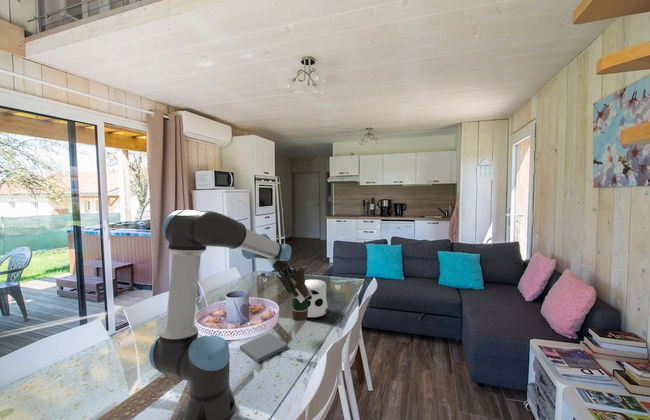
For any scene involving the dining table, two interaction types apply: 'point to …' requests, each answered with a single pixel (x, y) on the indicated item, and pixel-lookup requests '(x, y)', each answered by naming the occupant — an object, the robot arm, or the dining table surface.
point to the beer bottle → (298, 308)
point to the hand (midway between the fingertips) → (306, 298)
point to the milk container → (316, 298)
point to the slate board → (263, 347)
